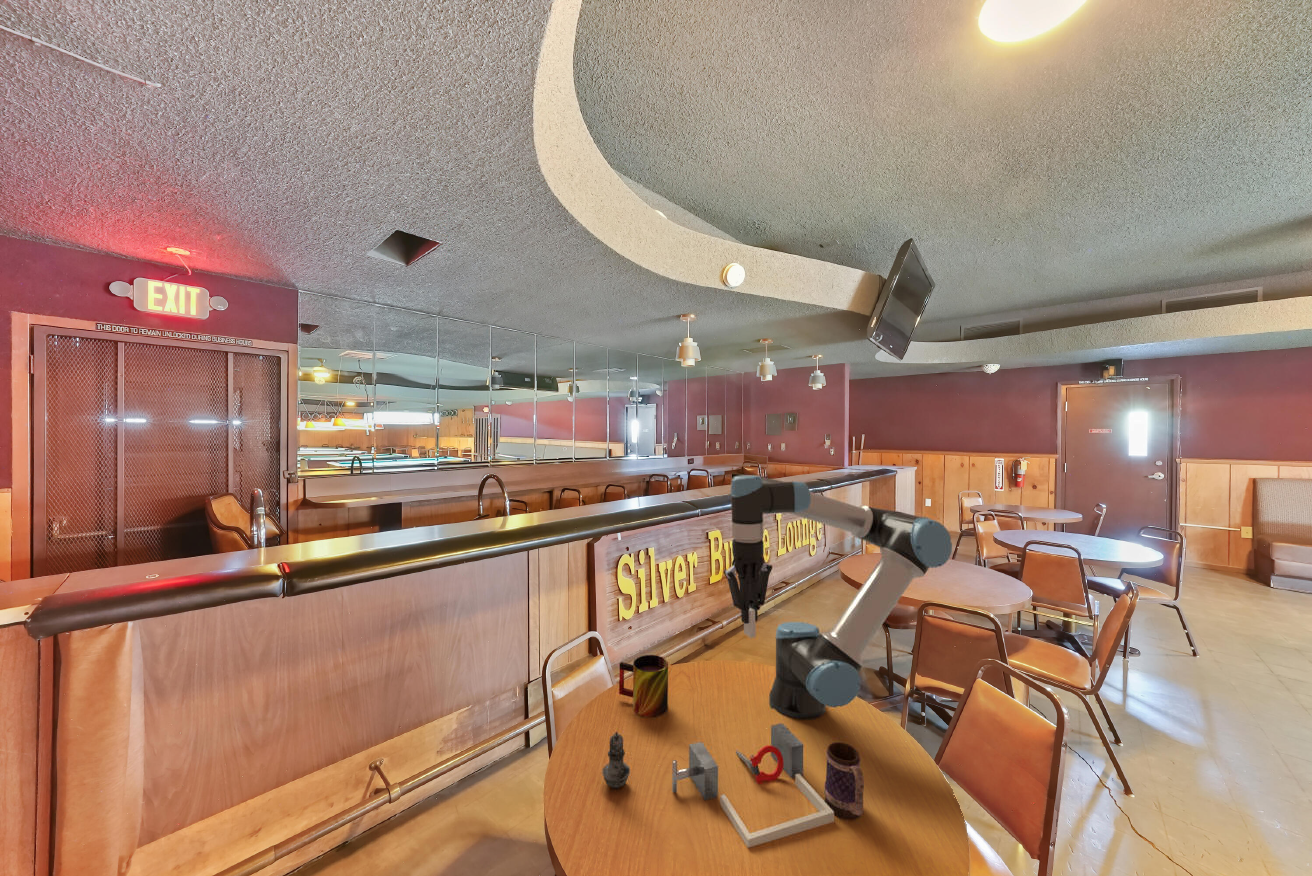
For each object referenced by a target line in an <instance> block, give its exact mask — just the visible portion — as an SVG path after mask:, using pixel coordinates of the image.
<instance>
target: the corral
mask: <svg viewBox="0 0 1312 876" xmlns="http://www.w3.org/2000/svg"><path fill="white" fill-rule="evenodd" d="M794 780H795V781H794V783H795V786H796V788H797V789H798V790H799V791H800V792H801V793H802V794H803V795H804V796H805V798H806V799H807V800H808V801H809V802H810V803H811V804H812V805H813V807H815V808H816V810H817V812H814V813H811V814H810V813H809V814H808V815H805V816H802V817H798V818H794V819H791V820H788V821H786V822H782V823H779V824H776V825H773V826H770V827H767V828H764V829H760V830H756V831H754V832H749V830H748V829H747V827H746V825H745V823H744V822H743V821H742V819H741V818H740V816H739V814H738V813H737V811H736V809H735V808H734V807H733V804H732V803H731V802H730V800H729V798H728V797H727V796H726V794H720V795H719V805H720V807H721V808H722V810H723V812H724V814H725V815H726V816H727V818H728V819H729V821H730V822H731V824H732V826H734V829H735V830H736V831H737V833H738V835H739V836H740V838H741V839H742V841H743V842H744V844H745V845H746V847H747V848H752V847H755V846H757V845H761V844H766V843H768V842H772V841H775V840H778V839H781V838H785V837H787V836H791V835H794V834H798V833H801V832H804V831H808V830H811V829H814V828H817V827H822V826H825V825H828V824H831V823H834V822H835V815H834V811H833V810H832V809H831V808H830V807H829V806H828V805H827V804H826V803H825V799H823V798H822V797H821V795H819V793H817V791H816V790H815V789H814V788H813V787H812V786H811V785H810V784H809V782H807V781H806V779H805V778H804V777H803V775H802V776H801V775H800V774H796V775H795V777H794Z"/></svg>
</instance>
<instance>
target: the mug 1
mask: <svg viewBox="0 0 1312 876" xmlns="http://www.w3.org/2000/svg"><path fill="white" fill-rule="evenodd" d="M625 671H626V672H629V673H633V674H632V681H633V683H632V687H633V688H632V689H630V688H626V687H625ZM618 694H619V695H621V696H626V697H629V698H632V709H633V710H634V713H636V714H638V715H640V716H642V717H647V718H648V717H649V718H653V717H658V716H662V715H663V714H664V713H666V712H667V710H668V705H669V701H668V700H669V661H668V660H667V659H666V658H664V656H660V655H658V654H657V655H654V654H646V655H645V654H644V655H641V656H638V657H637V658H636V659H634V661H633V664H631V663H628V662H627V663H626V662H623V661H621V662H619V680H618Z"/></svg>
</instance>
